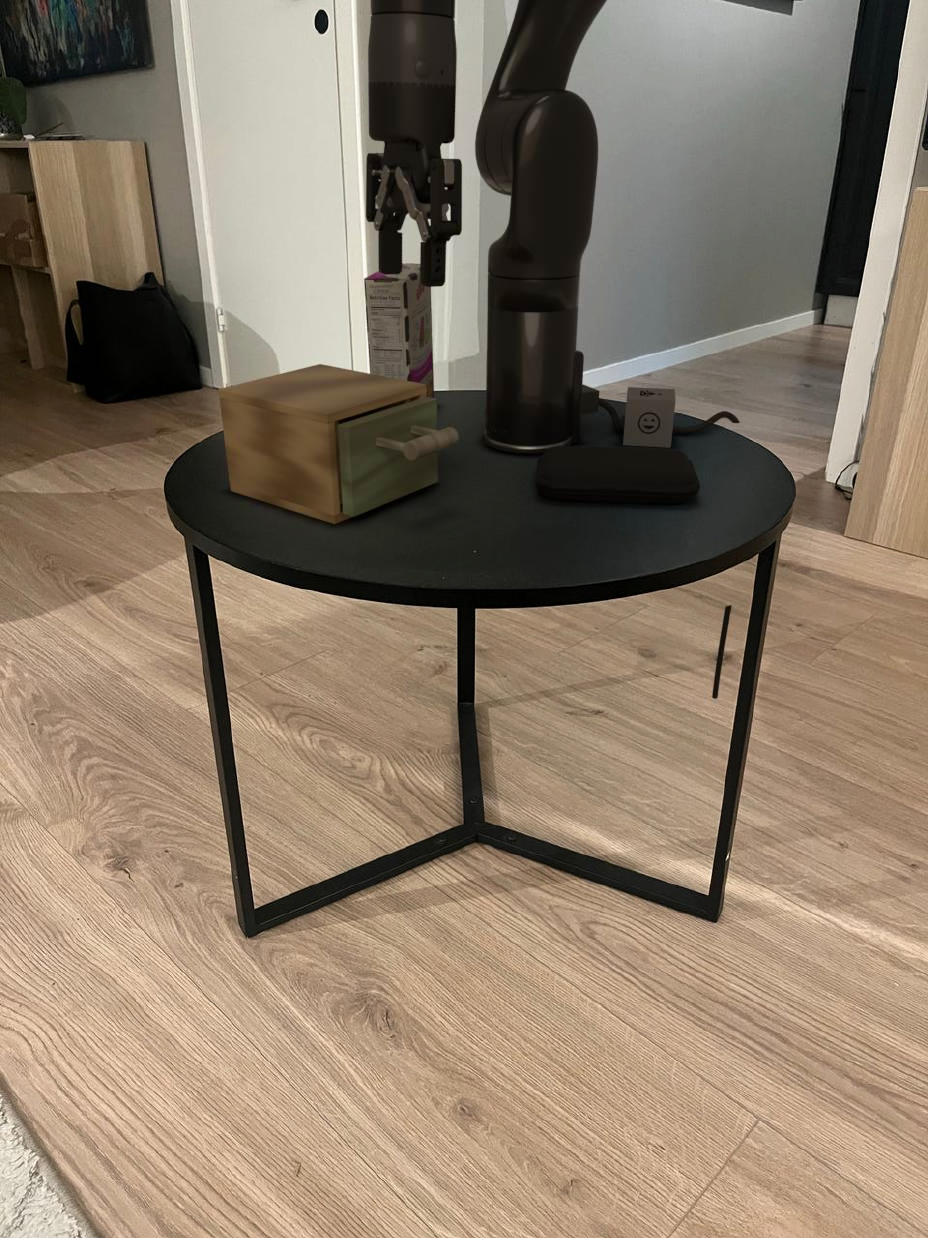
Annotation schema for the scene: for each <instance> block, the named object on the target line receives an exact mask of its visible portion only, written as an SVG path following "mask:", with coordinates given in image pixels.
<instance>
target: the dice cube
mask: <svg viewBox="0 0 928 1238" xmlns="http://www.w3.org/2000/svg"><path fill="white" fill-rule="evenodd" d="M625 401H626V402H625V403H626V404H625V414H624V416H625V426H624V433H623V440H622V446H628V447H629V446H632V447H647V448H666V449H672V439H673V432H672V430H673V426H674V421H675V409H676V389H675V388H661V387H660V388H657V387H637V386H636V387H634V386H627V392H626V400H625Z"/></svg>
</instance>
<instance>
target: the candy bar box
mask: <svg viewBox="0 0 928 1238" xmlns="http://www.w3.org/2000/svg"><path fill="white" fill-rule="evenodd" d="M363 284H364V286H363V287H364V297H365V300H364V302H365V319H366V335H367V347H368V362H369V363H368V365H369V374H374V375H379V376H384V377H390V378H395V379H400V380H405V381H410V382H415V383H420V384H426V394H427V397H430V398H435V383H434V381H435V378H434V377H435V375H434V346H433V345H434V344H433V342H434V341H433V340H434V339H433V313H432V312H433V310H432V287H426V286H423V285H422V284H421V283H420V263H413V262H412V263H411V262H410V263H408V262H407V263H403V262H402V271H401V273H399V274H387V275H386V274H382V273H380V271H379V270H378V271H376V272H373V273H372V274H370V275H368V276H366V277H364V278H363Z"/></svg>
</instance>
